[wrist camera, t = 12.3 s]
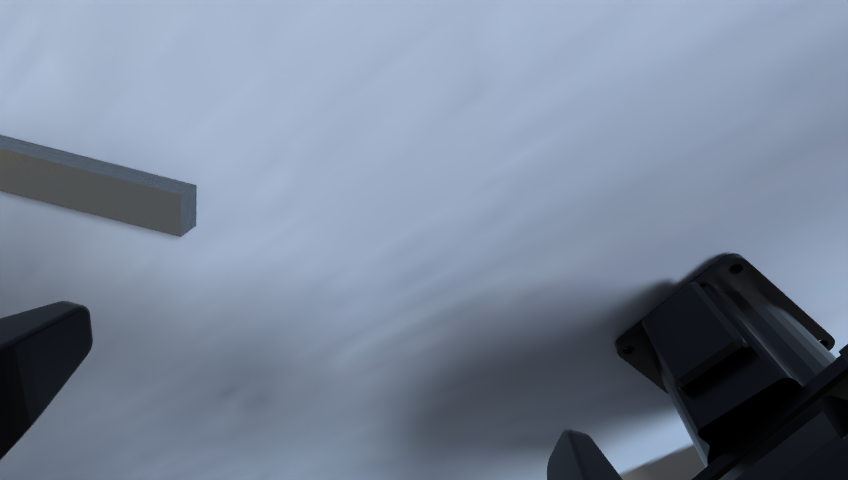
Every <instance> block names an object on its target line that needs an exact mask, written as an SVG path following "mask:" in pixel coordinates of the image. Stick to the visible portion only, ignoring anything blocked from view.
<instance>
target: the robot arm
mask: <svg viewBox="0 0 848 480" xmlns="http://www.w3.org/2000/svg"><path fill="white" fill-rule="evenodd" d="M735 263H738V265H737V267H736V268H734V269H732V270H729V268H730V266H731V265H733V264H735ZM819 340H821V341H820V342H819ZM92 342H93V338H92V329H91V320H90V312H89V310H88V308H87V307H85V306H83V305H79V304H76V303H72V302H68V301H61V302H57V303H53V304H50V305H46V306H43V307H39V308H36V309H32V310H29V311H25V312H22V313H18V314H15V315H11V316H8V317H4V318H1V319H0V460H1V459H2V458H3V457H4V455H5V454H6V453H7V452H8V451H9V450H10V449H11V448H12V447H13V446H14V445H15V444H16V443H17V442H18V441H19V439H20V438H21V437H22V436H23V435H24V434H25V433H26V432H27V431H28V429H29V428H30V427H31V426H32V425H33V424H34V422H35V421H36V420H37V419H38V418H39V416H40V415H41V414H42V413H43V411H44V410H45V409H46V408H47V406H48V405H49V404H50V402H51V401H52V400H53V399H54V397H55V396H56V395H57V393H58V392H59V391H60V390H61V388H62V387H63V386H64V384H65V383H66V382H67V381H68V379H69V378H70V377H71V375H72V374H73V373H74V372H75V370H76V369H77V368H78V366H79V365H80V364H81V363H82V361H83V360H84V359H85V357H86V356H87V355H88V353H89V351H90V350H91V347H92ZM627 345H631V347H630V348H627V349H624V347H625V346H627ZM834 345H835V340H834V338H833V337H832V336H831V335H830V334H829V333H827V332H826V331H825V330H824V329H823V328H822V327H821V326H820V325H819V324H817V323H816V322H815V321H814V320H813V319H812V318H811V317H810V316H808V315H807V314H806V313H805V312H804V311H803V310H802V309H801V308H799V307H798V306H797V305H796V304H795V303H794V302H793V301H792V300H791V299H789V298H788V297H787V296H786V295H785V294H784V293H783V292H782V291H780V290H779V289H778V288H777V287H776V286H775V285H774V284H773V283H771V282H770V281H769V280H768V279H767V278H766V277H765V276H764V275H763V274H761V273H760V272H759V271H758V270H757V269H756V268H755V267H754V266H752V265H751V264H750V263H749V262H748V261H747V260H746V259H745V258H744V257H742V256H741V255H739V254H734V253H732V254H728V255H726V256H724V257H722V258H721V259H720V260H719V261H717V262H716V263H715V264H713V265H712V266H711V267H710V268H708V269H707V270H706V271H704V272H703V273H702V274H700V275H699V276H698V277H697V278H695V279H694V280H693V281H691V282H690V283H688V284H687V285H685V286H684V287H683V288H681V289H680V290H679V291H678V292H676V293H675V294H674V295H672V296H671V297H670V298H669V299H667V300H666V301H665V302H663V303H662V304H661V305H659V306H658V307H657V308H656V309H654V310H653V311H652V312H650V313H649V314H648V315H647V316H645V317H644V318H643V319H642V320H641V321H640V322H638V323H637V324H636V325H635V326H633V327H632V328H631V329H629V330H628V331H627V332H626V333H624V334H623V335H622V336H620V337H619V338H618V339H617V340H616V341H615V349H616V351H617V354H618V355H619V356H620V357H621V358H623V359H624V360H625V361H626V362H628V363H629V364H630V365H632V366H633V367H634V368H636V369H637V370H638V371H639V372H641V373H642V374H643V375H645V376H646V377H647V378H648V379H650V380H651V381H652V382H654V383H655V384H656V385H657V386H659V387H660V388H661V389H663V390H664V391H665V392H666V393H668V394H669V395H670V397H671V399H672V401H673V403H674V405H675V407H676V409H677V411H678V413H679V415H680V417H681V419H682V421H683V423H684V425H685V427H686V429H687V431H688V433H689V435H690V437H691V439H692V441H693V443H694V445H695V447H696V449H697V451H698V453H699V455H700V457H701V459H702V461H703V463H704V465H705V468H704V469H703V470H701V471H700V472H699V473H698V474H697V475H695V476H694V477H693V478H692V479H691V480H848V344H847V345H846V346H845V347H844V348H842V349H841V350H840V351H839V353H840V354H841V355H840V356H839V357H838V358H836V357H835V356H833V355H832V354H831V353H830V352H829V350H831V349H832V348H833V346H834ZM547 480H622V478H621V477H620V475H619V474H618V473H617V472H616V470H615V469H614V468H613V466H612V465H611V464H610V462H609V461H608V460H607V458H606V457H605V456H604V454H603V453H602V452H601V450H600V449H599V448H598V447H597V445H596V444H595V443H594V441H593V440H592V439H591V438H590V436H588V435H587V434H585V433H581V432H577V431H573V430H565V431H564V432H563V433H562V435H561V436H560V438H559V440H558V442H557V444H556V446H555V448H554V450H553V452H552V454H551V456H550V458H549V461H548V467H547Z"/></svg>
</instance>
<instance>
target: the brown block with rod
mask: <svg viewBox="0 0 848 480" xmlns="http://www.w3.org/2000/svg"><path fill="white" fill-rule="evenodd" d="M0 190H1V191H5V192H8V193H12V194H16V195H20V196H24V197H28V198H32V199H36V200H40V201H43V202H47V203H51V204H55V205H59V206H63V207H67V208H71V209H75V210H78V211H82V212H86V213H90V214H94V215H98V216H102V217H106V218H110V219H113V220H117V221H121V222H125V223H129V224H133V225H137V226H141V227H145V228H148V229H152V230H156V231H160V232H164V233H168V234H172V235H176V236H180V237H181V236H183V235H184V234H185V233H187V232H188V231H189V230H191V229H192V228H193V227H195V226H196V185H193V184H189V183H185V182H181V181H177V180H173V179H169V178H165V177H161V176H158V175H154V174H150V173H146V172H142V171H138V170H134V169H130V168H126V167H123V166H119V165H115V164H111V163H107V162H103V161H99V160H95V159H91V158H88V157H84V156H80V155H76V154H72V153H68V152H64V151H60V150H56V149H53V148H49V147H45V146H41V145H37V144H33V143H29V142H25V141H21V140H18V139H14V138H10V137H6V136H2V135H0Z"/></svg>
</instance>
